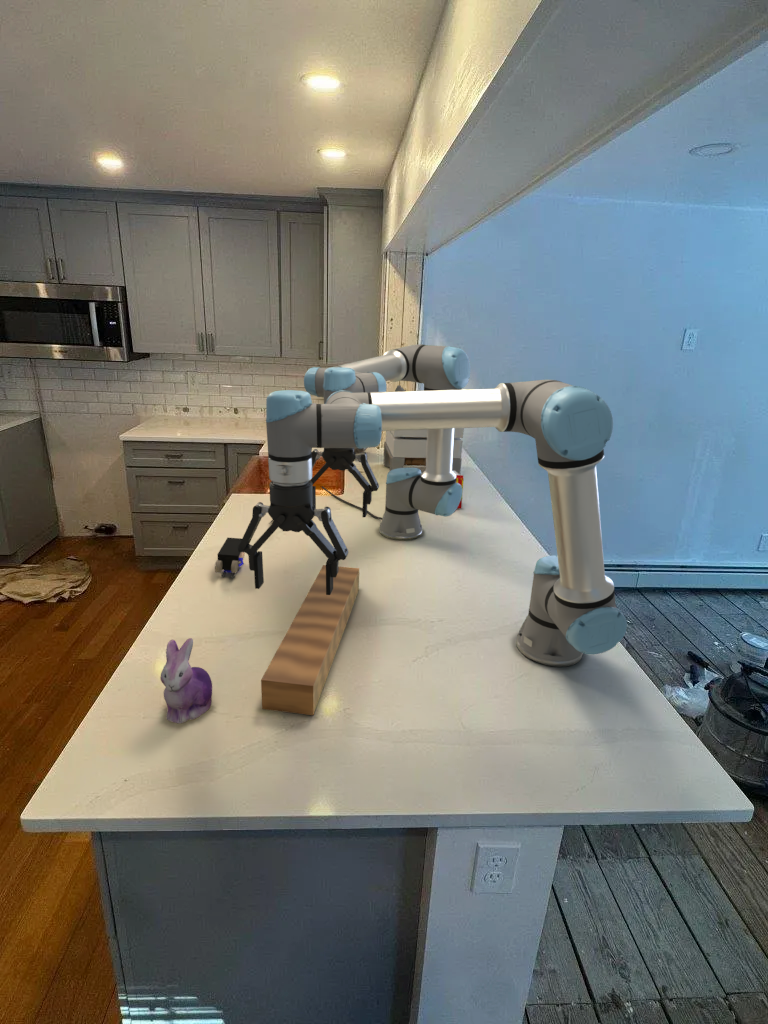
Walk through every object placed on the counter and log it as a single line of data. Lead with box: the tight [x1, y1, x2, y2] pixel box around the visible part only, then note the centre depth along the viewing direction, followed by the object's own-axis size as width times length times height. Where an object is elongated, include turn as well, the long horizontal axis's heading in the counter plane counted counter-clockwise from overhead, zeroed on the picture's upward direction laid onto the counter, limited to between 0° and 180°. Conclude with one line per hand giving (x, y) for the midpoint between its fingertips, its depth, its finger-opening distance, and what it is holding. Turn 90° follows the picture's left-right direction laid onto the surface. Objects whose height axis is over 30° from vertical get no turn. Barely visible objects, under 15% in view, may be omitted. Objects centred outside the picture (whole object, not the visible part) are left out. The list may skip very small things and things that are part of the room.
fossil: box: [354, 448, 368, 454], centre depth 300 cm, size 22×10×15 cm
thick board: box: [260, 564, 360, 716], centre depth 134 cm, size 53×10×7 cm, turn 173°
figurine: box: [159, 637, 213, 724], centre depth 107 cm, size 9×10×15 cm
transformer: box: [383, 384, 465, 475], centre depth 268 cm, size 34×33×41 cm
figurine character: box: [214, 537, 245, 578], centre depth 166 cm, size 7×8×15 cm
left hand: (338, 513), depth 147 cm, fingers open, 13 cm apart
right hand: (294, 588), depth 107 cm, fingers open, 13 cm apart
